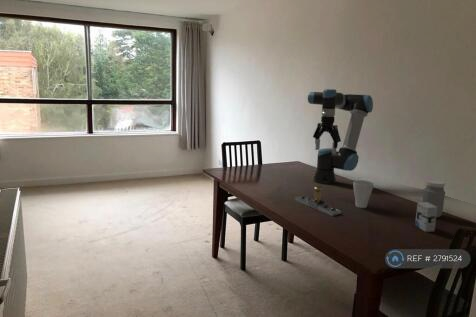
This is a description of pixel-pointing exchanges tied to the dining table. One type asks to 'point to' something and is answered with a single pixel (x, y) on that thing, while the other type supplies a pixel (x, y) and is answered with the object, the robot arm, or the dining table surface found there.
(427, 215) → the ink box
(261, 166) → the dining table surface
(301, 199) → the grey long bar piece
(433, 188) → the jar
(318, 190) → the pin
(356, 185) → the cup
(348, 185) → the dining table surface
